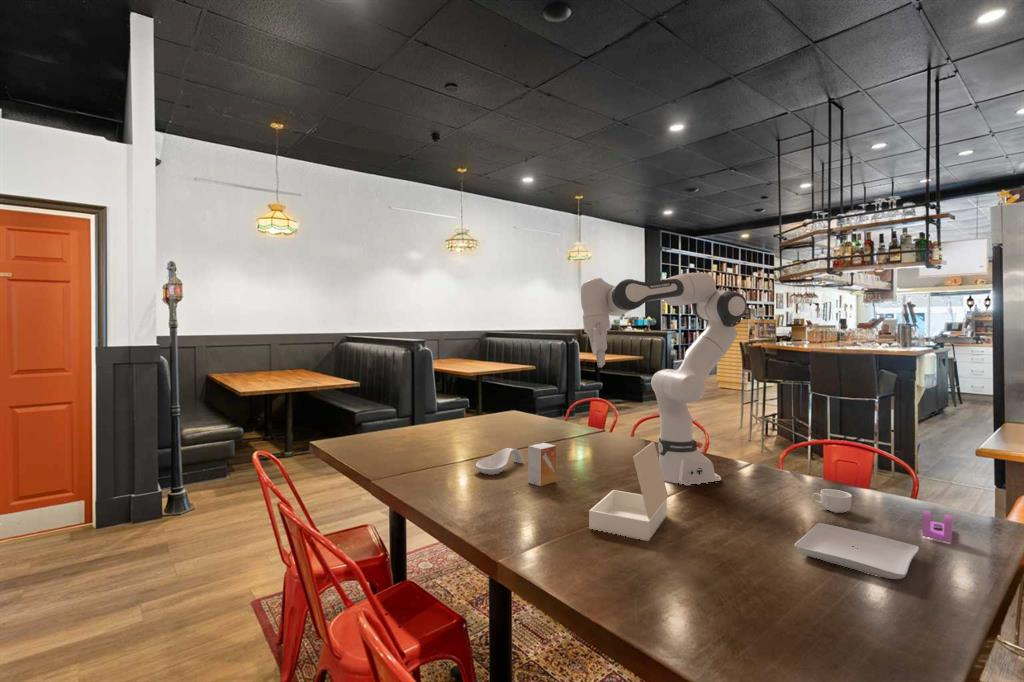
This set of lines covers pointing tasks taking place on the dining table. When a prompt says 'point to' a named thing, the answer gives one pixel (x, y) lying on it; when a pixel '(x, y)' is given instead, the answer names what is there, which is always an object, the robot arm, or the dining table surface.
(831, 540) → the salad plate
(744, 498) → the dining table surface
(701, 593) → the dining table surface
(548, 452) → the small box
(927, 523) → the bracket
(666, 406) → the robot arm
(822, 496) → the teacup
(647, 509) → the mailer lid
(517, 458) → the spoon rest
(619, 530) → the tray
